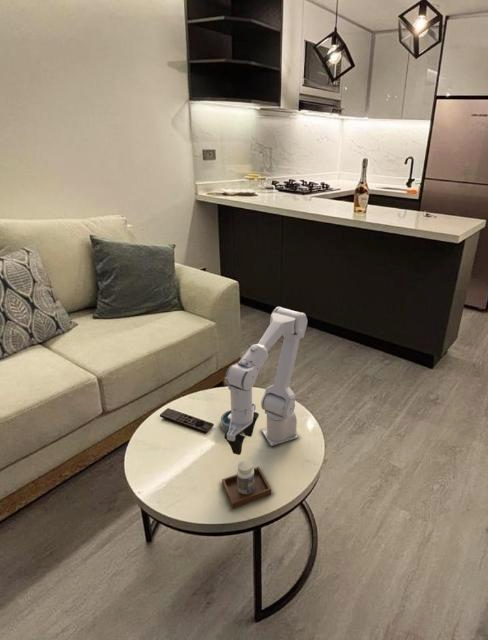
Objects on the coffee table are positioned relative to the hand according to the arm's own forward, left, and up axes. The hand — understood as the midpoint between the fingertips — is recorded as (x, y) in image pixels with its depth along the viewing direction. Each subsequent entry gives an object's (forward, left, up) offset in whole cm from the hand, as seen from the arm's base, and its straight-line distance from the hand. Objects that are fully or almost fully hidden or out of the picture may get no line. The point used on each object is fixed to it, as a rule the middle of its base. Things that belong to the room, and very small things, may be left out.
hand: (242, 444), depth 116 cm
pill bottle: (+2, +6, -10) cm, 12 cm away
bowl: (-5, -21, -10) cm, 24 cm away
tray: (+1, +7, -10) cm, 12 cm away
